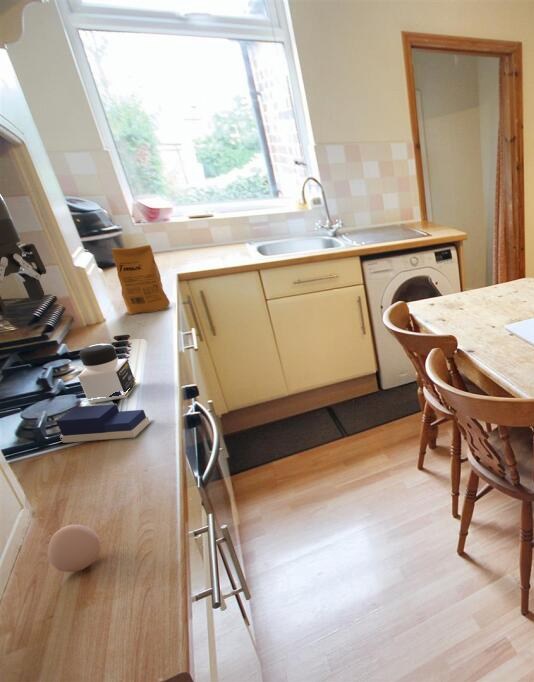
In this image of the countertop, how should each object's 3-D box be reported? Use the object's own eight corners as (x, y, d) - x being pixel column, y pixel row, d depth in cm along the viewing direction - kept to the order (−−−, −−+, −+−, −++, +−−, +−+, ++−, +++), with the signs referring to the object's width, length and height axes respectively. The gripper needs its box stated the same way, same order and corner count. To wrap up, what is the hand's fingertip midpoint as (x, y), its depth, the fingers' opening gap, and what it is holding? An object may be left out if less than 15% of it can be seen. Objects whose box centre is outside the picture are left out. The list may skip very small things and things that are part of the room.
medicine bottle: (127, 398, 107) (108, 350, 102) (88, 404, 104) (68, 355, 100) (137, 384, 113) (120, 338, 108) (100, 389, 110) (82, 343, 106)
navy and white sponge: (62, 442, 91) (52, 421, 89) (82, 427, 96) (72, 406, 94) (134, 437, 93) (126, 416, 91) (150, 422, 97) (142, 401, 95)
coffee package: (130, 307, 165) (109, 245, 156) (172, 302, 170) (153, 242, 162) (124, 316, 157) (101, 251, 148) (168, 310, 162) (149, 247, 154)
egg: (56, 588, 61) (34, 550, 58) (61, 562, 65) (41, 525, 62) (106, 569, 64) (87, 532, 61) (108, 545, 68) (91, 509, 65)
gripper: (-35, 223, 74) (10, 318, 80) (37, 211, 87) (70, 294, 93) (-89, 224, 73) (-40, 321, 79) (-8, 212, 86) (28, 295, 92)
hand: (20, 306), depth 86 cm, fingers open, 8 cm apart
